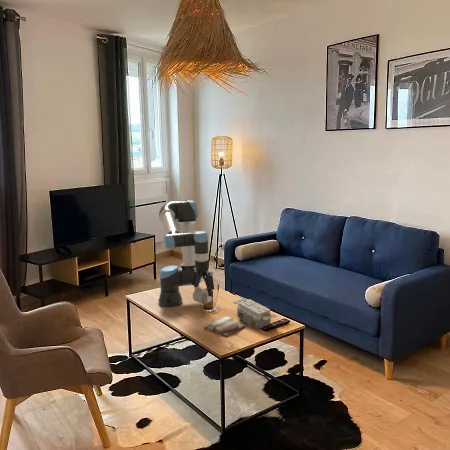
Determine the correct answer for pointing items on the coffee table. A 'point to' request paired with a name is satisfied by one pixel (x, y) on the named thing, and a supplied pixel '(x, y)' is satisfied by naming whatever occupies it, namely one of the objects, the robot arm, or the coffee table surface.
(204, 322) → the coffee table surface
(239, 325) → the pedestal
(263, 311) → the electrical outlet
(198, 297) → the ceramic mug
